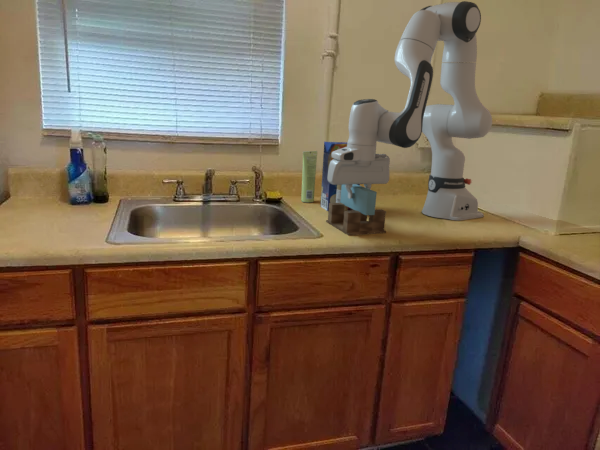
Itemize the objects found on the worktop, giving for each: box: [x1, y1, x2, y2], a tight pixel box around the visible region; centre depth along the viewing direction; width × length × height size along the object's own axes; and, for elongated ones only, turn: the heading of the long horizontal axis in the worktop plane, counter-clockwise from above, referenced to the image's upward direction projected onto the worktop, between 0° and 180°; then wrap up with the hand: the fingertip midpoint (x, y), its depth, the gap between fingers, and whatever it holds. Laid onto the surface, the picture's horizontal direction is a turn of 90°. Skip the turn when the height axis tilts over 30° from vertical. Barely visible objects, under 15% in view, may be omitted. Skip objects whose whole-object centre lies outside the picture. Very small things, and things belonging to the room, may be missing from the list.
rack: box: [325, 203, 387, 236], centre depth 152 cm, size 13×16×7 cm
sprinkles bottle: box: [336, 185, 348, 211], centre depth 170 cm, size 5×5×13 cm
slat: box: [340, 184, 378, 216], centre depth 150 cm, size 3×17×7 cm, turn 22°
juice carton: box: [319, 141, 361, 212], centre depth 174 cm, size 12×8×24 cm, turn 109°
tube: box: [300, 150, 318, 203], centre depth 184 cm, size 6×5×20 cm
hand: (357, 198), depth 150 cm, fingers closed on slat, 3 cm apart
